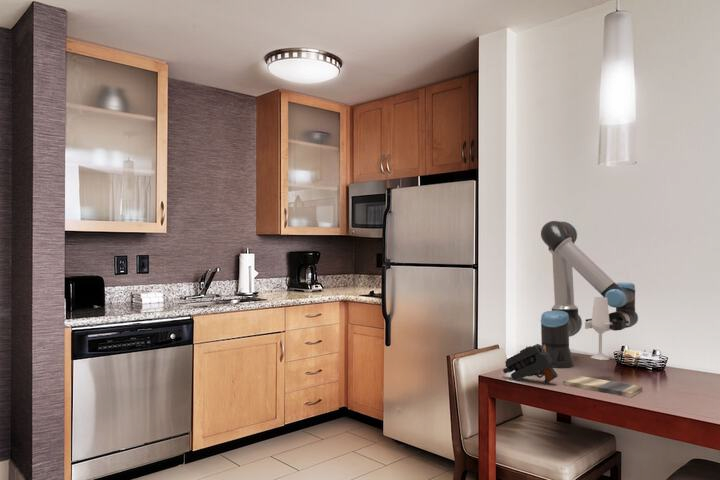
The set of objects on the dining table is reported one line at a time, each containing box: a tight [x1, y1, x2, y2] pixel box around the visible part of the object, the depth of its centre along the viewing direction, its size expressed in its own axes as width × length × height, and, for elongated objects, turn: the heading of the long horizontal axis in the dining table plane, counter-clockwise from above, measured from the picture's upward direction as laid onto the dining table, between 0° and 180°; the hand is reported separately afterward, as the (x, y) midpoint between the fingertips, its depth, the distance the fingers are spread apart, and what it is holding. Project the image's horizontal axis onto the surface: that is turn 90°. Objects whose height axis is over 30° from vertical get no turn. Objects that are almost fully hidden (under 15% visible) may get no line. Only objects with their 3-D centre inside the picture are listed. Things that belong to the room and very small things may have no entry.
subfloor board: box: [562, 374, 643, 398], centre depth 191 cm, size 24×12×2 cm, turn 44°
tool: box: [502, 343, 559, 385], centre depth 202 cm, size 6×19×15 cm
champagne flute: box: [590, 296, 610, 361], centre depth 206 cm, size 7×7×24 cm
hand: (595, 326), depth 202 cm, fingers closed on champagne flute, 7 cm apart
